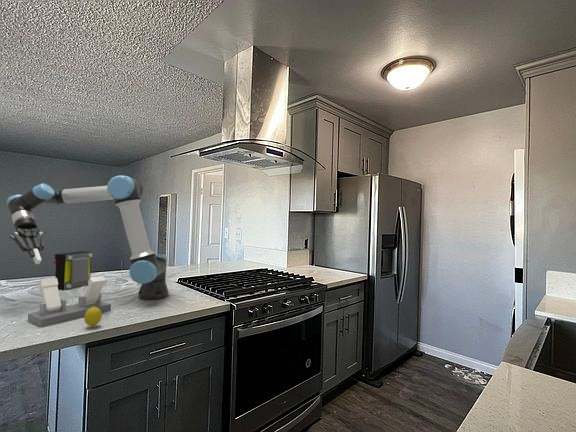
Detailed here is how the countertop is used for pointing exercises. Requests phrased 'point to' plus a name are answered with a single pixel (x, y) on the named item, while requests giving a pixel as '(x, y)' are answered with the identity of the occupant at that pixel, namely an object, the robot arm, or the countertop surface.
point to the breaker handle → (94, 289)
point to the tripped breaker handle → (50, 294)
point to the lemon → (93, 316)
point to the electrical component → (73, 269)
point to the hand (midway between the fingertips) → (38, 262)
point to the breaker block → (65, 312)
